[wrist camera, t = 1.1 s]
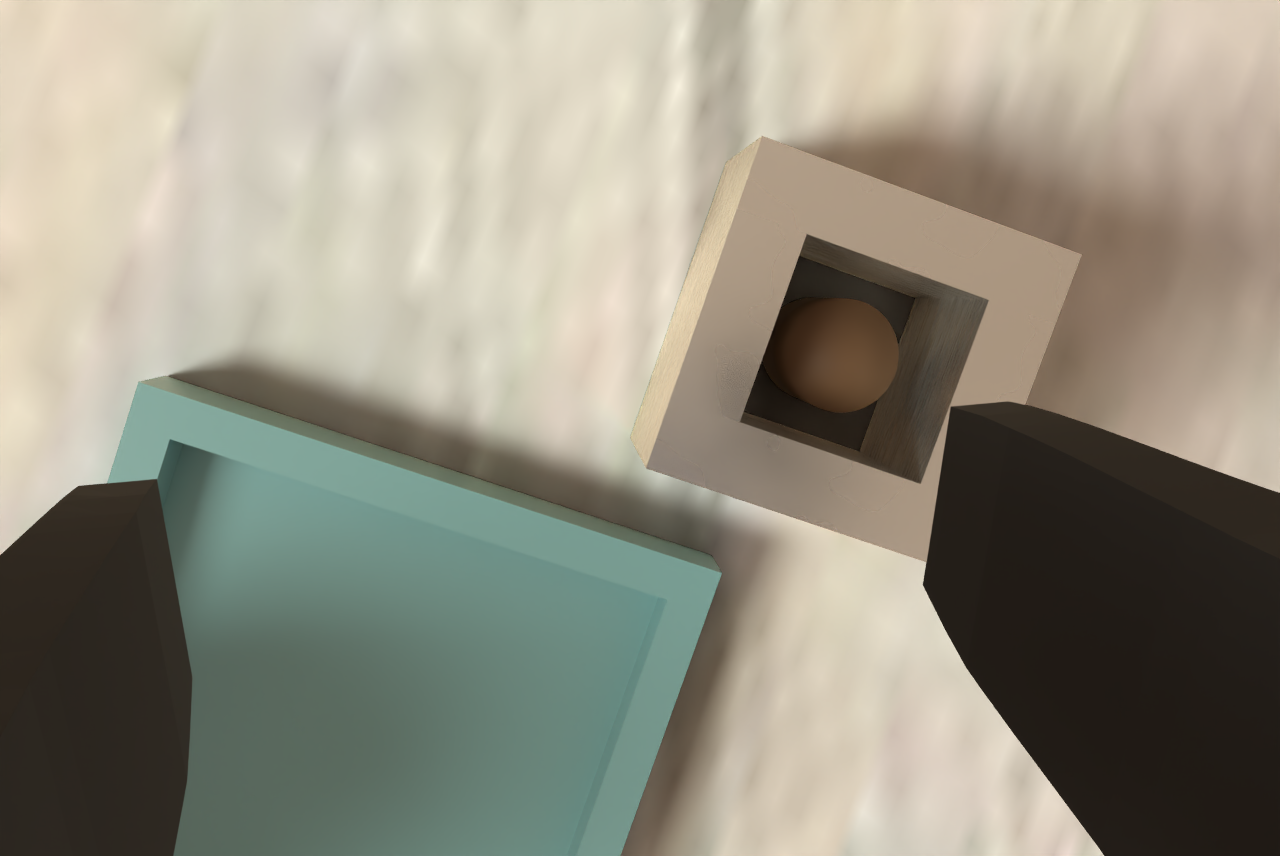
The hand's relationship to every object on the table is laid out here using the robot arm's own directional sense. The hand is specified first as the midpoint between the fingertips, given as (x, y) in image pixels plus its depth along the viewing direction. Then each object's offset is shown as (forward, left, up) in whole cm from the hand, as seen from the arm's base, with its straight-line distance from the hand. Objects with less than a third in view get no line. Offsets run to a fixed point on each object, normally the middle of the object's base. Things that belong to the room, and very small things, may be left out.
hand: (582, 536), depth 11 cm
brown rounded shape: (-4, -3, -13) cm, 13 cm away
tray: (+2, +7, -13) cm, 15 cm away
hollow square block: (-4, -3, -13) cm, 13 cm away
